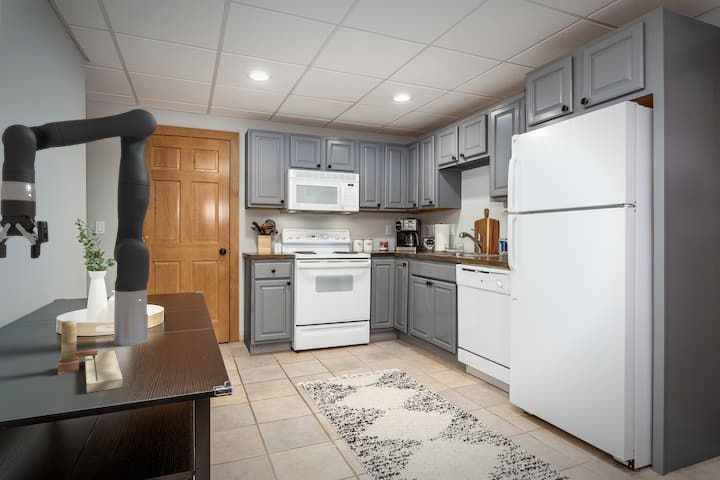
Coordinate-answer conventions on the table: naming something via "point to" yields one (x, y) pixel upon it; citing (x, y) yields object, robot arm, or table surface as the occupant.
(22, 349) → the table surface
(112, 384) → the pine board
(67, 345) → the marking gauge
